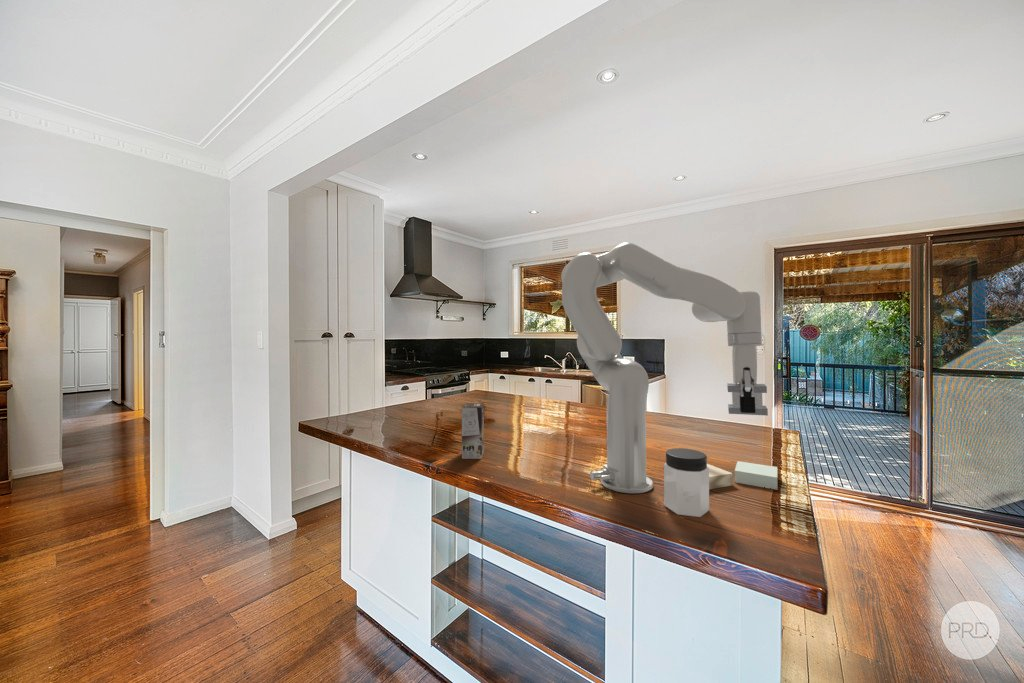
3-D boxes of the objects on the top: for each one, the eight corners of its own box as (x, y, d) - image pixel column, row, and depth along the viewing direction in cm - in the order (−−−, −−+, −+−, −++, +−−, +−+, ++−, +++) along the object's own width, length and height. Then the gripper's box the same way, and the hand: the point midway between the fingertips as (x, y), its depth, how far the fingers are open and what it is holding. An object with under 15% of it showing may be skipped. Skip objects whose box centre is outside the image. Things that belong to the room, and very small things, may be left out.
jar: (665, 513, 81) (665, 457, 81) (662, 498, 89) (662, 446, 89) (712, 519, 78) (712, 460, 78) (705, 503, 86) (705, 449, 86)
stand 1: (704, 490, 93) (704, 477, 93) (677, 477, 102) (677, 466, 102) (732, 485, 96) (732, 473, 96) (704, 473, 105) (704, 462, 105)
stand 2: (777, 489, 93) (777, 477, 93) (734, 482, 98) (734, 470, 98) (777, 478, 100) (777, 467, 100) (737, 472, 106) (737, 461, 106)
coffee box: (482, 459, 119) (481, 407, 119) (461, 459, 119) (460, 407, 119) (484, 450, 128) (484, 402, 128) (465, 450, 128) (464, 402, 128)
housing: (728, 413, 99) (727, 385, 99) (728, 410, 103) (727, 383, 103) (767, 415, 95) (766, 386, 95) (765, 411, 99) (764, 383, 99)
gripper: (727, 339, 108) (729, 404, 108) (728, 341, 93) (731, 416, 93) (758, 338, 105) (761, 405, 105) (765, 340, 90) (768, 418, 90)
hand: (747, 409), depth 99 cm, fingers closed on housing, 5 cm apart
